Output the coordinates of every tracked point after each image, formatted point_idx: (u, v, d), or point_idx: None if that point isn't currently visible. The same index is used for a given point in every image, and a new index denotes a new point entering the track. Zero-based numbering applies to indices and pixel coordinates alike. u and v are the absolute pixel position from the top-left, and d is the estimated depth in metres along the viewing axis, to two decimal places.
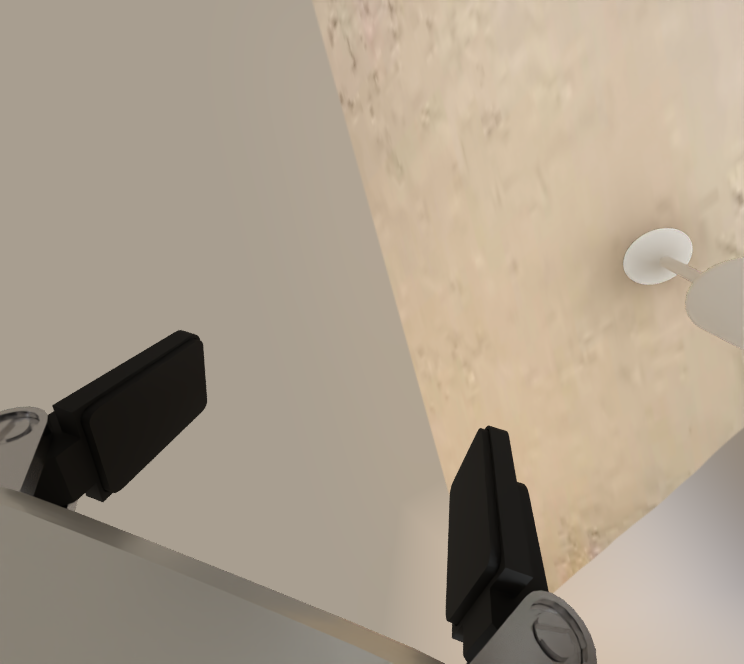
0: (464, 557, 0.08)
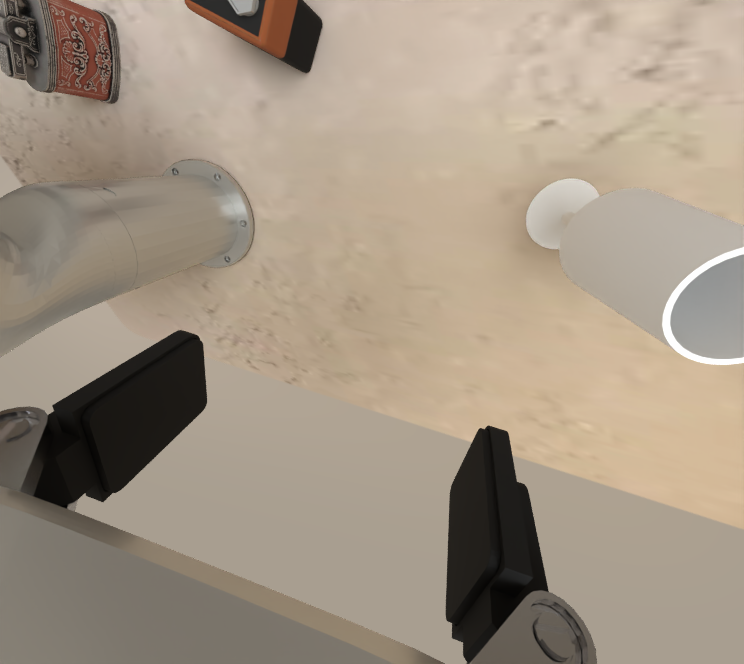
0: (463, 557, 0.08)
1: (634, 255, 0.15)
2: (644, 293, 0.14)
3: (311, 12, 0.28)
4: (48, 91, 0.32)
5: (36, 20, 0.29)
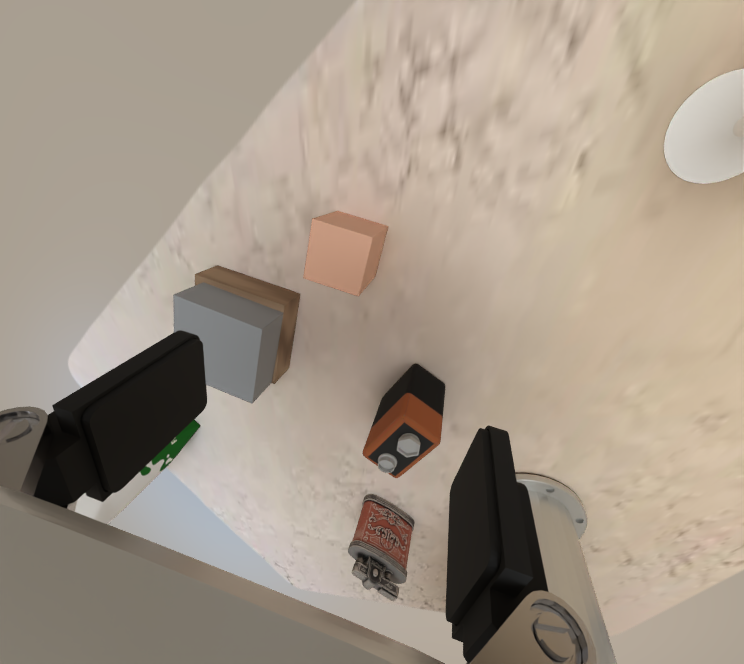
0: (464, 557, 0.08)
1: None
2: None
3: (413, 377, 0.33)
4: (406, 575, 0.41)
5: (369, 555, 0.40)
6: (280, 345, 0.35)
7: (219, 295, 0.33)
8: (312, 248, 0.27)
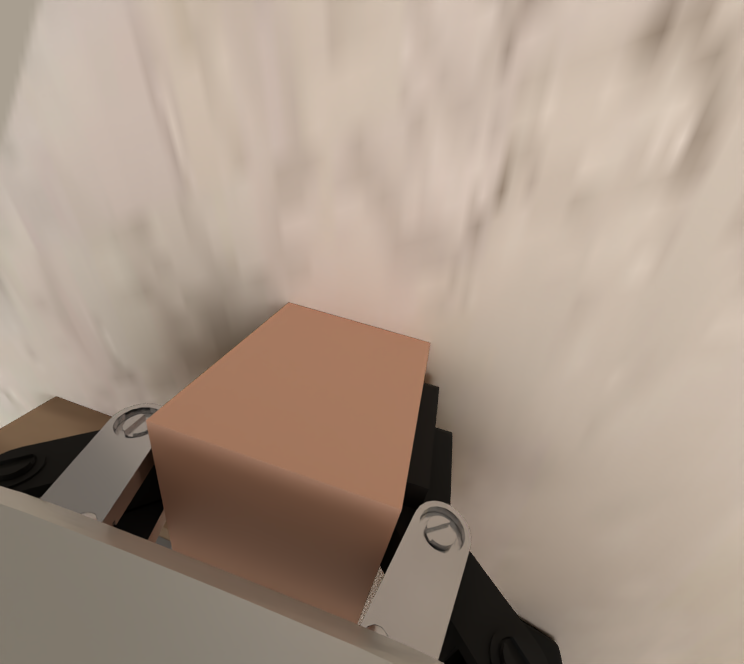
0: None
1: None
2: None
3: None
4: None
5: None
6: None
7: None
8: (176, 500, 0.07)
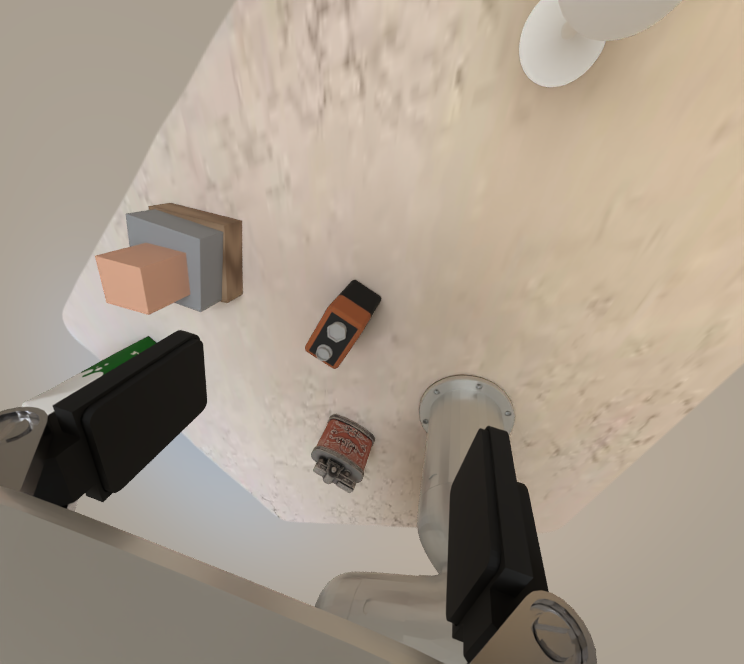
0: (464, 557, 0.08)
1: None
2: None
3: (348, 286, 0.39)
4: (363, 474, 0.47)
5: (329, 457, 0.46)
6: (226, 264, 0.41)
7: (167, 217, 0.38)
8: (103, 279, 0.33)
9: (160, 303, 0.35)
